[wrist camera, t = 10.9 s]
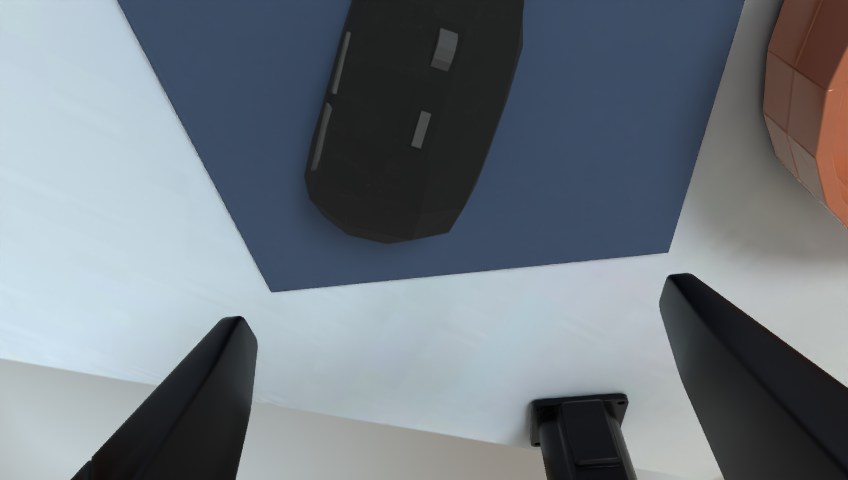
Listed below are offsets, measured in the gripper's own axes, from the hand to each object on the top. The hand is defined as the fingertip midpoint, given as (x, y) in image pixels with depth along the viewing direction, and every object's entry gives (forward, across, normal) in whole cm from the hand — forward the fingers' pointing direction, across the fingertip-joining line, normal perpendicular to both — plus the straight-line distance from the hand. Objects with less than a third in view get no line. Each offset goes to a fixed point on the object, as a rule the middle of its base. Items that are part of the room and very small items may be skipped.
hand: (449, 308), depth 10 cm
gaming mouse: (+10, 0, -1) cm, 10 cm away
